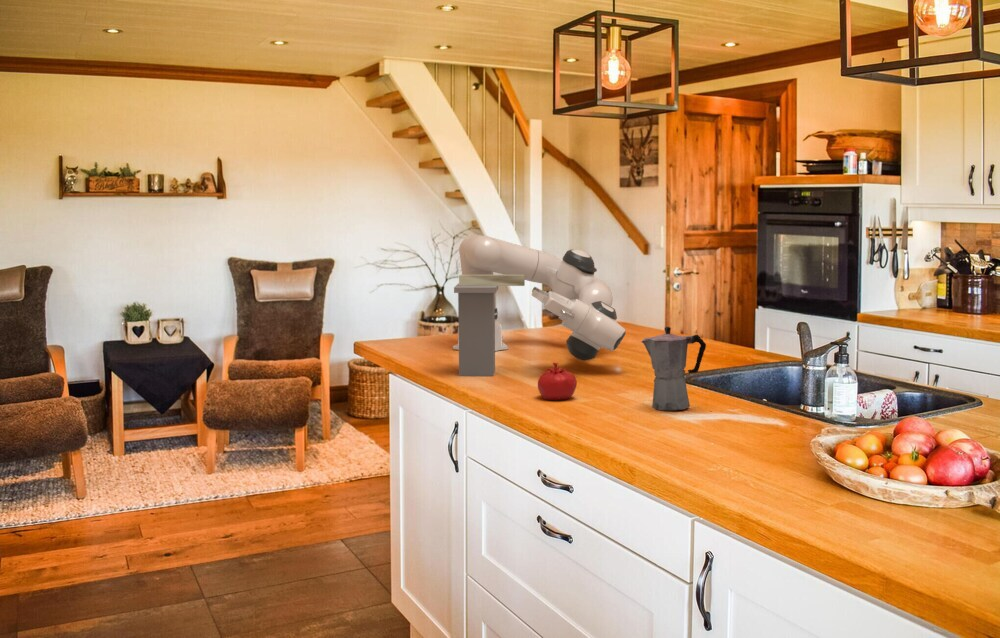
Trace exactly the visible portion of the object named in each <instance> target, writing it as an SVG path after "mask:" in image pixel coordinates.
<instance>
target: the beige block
mask: <svg viewBox="0 0 1000 638" xmlns="http://www.w3.org/2000/svg"><path fill="white" fill-rule="evenodd" d="M525 282H526V280H525V275H503V274H493V275H462V274H459V275H458V283H459V286H498V287H525Z"/></svg>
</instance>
